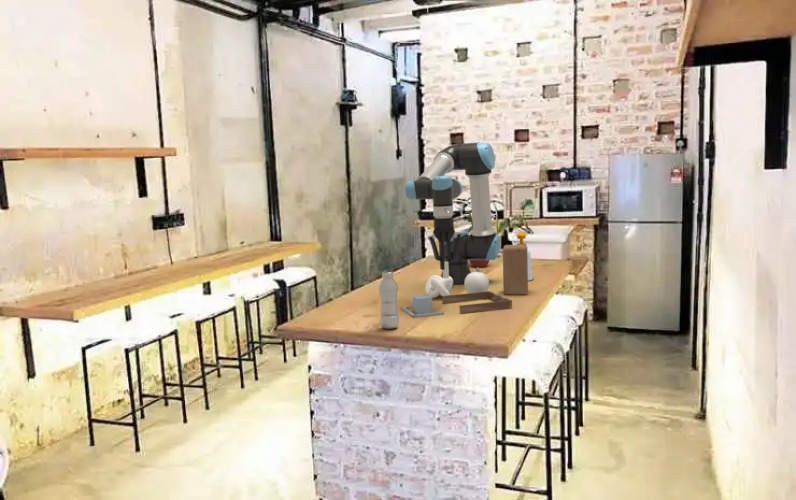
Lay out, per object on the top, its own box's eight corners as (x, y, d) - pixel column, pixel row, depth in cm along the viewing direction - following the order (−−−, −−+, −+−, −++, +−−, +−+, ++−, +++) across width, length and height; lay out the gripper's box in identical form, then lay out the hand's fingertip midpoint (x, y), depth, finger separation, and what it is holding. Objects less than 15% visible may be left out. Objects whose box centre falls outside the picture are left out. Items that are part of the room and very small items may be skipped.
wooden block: (527, 295, 272) (527, 247, 269) (503, 295, 274) (502, 248, 271) (528, 290, 281) (527, 244, 279) (504, 290, 283) (503, 244, 281)
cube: (412, 311, 252) (412, 295, 251) (427, 309, 254) (426, 294, 253) (417, 314, 246) (416, 298, 246) (432, 312, 248) (432, 297, 247)
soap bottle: (531, 275, 315) (531, 230, 312) (532, 281, 301) (532, 233, 298) (511, 276, 316) (510, 230, 313) (511, 281, 303) (510, 233, 300)
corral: (401, 308, 256) (400, 306, 256) (429, 305, 260) (429, 303, 260) (413, 317, 241) (413, 315, 241) (443, 314, 244) (443, 312, 244)
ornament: (491, 293, 278) (490, 265, 276) (486, 298, 268) (485, 270, 267) (467, 293, 281) (467, 265, 280) (462, 298, 272) (461, 269, 270)
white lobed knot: (456, 299, 269) (455, 278, 268) (427, 301, 269) (426, 279, 267) (452, 294, 280) (451, 273, 279) (424, 295, 280) (423, 275, 278)
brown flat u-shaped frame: (442, 303, 263) (442, 296, 263) (490, 298, 269) (490, 291, 268) (460, 313, 244) (460, 306, 244) (512, 308, 250) (511, 300, 249)
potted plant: (496, 265, 348) (495, 200, 343) (479, 270, 337) (477, 202, 332) (470, 263, 360) (468, 199, 355) (452, 267, 348) (450, 201, 344)
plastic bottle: (379, 326, 230) (377, 270, 228) (398, 325, 231) (396, 269, 228) (380, 331, 224) (378, 273, 221) (400, 330, 225) (398, 272, 222)
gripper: (430, 219, 243) (433, 281, 247) (463, 216, 246) (465, 277, 250) (424, 217, 250) (426, 277, 254) (455, 214, 254) (458, 274, 257)
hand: (445, 277), depth 252 cm, fingers closed
